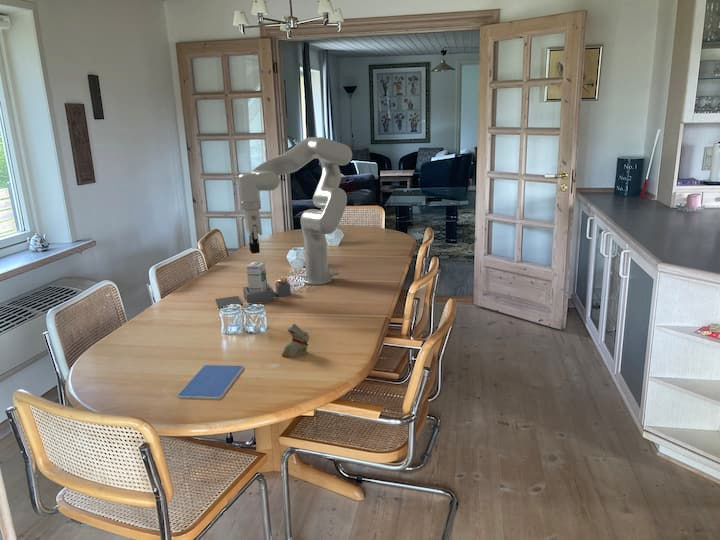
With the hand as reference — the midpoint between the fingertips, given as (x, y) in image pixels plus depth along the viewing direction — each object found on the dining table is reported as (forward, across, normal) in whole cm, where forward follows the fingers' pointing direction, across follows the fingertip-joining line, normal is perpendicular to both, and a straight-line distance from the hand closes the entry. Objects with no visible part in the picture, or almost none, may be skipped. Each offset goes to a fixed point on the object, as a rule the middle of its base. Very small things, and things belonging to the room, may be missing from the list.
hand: (254, 251), depth 224 cm
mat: (+19, 0, +12) cm, 23 cm away
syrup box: (+20, 0, 0) cm, 20 cm away
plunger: (+19, 0, -10) cm, 21 cm away
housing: (+19, 0, -4) cm, 20 cm away
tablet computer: (+20, -69, +25) cm, 76 cm away
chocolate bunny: (+20, -60, -1) cm, 63 cm away
